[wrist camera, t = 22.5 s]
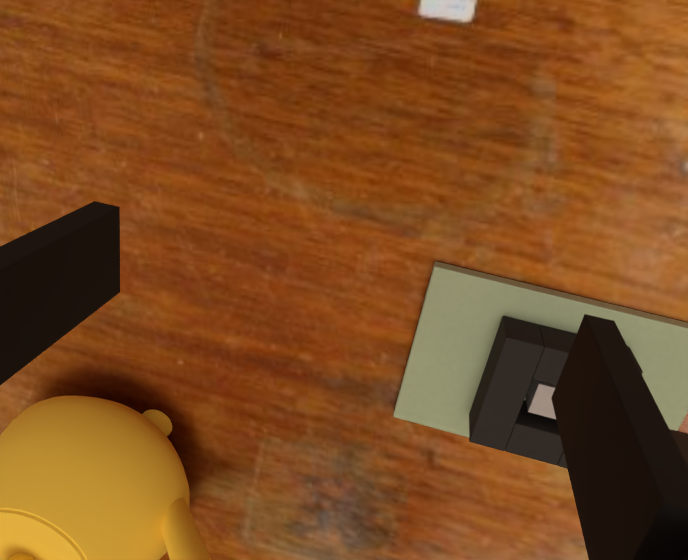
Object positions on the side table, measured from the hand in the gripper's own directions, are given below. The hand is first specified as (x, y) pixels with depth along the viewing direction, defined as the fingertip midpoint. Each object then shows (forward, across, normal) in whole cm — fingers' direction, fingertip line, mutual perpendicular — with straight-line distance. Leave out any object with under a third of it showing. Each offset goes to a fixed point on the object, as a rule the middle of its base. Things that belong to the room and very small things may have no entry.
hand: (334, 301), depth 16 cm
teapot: (+21, -16, -29) cm, 39 cm away
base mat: (+21, +12, -13) cm, 27 cm away
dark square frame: (+20, +12, -13) cm, 26 cm away
